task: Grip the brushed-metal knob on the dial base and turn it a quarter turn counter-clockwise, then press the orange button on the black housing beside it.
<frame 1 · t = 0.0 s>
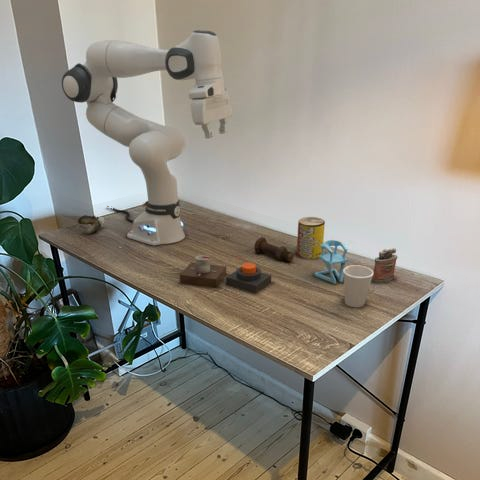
hand: (215, 135, 162), 39 cm above the table, tool pointing down, fingers open, 8 cm apart
dixie cup: (354, 303, 144), on the table
bolt: (274, 257, 173), on the table
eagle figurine: (93, 231, 198), on the table
button: (248, 268, 152), point 5 cm above the table, slide at 0.2 cm
beverage can: (309, 254, 175), on the table
knob: (202, 263, 155), point 5 cm above the table, hinge at 0.0°
chair: (331, 278, 158), on the table
dial base: (203, 279, 158), on the table
button box: (248, 283, 155), on the table
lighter: (382, 280, 157), on the table
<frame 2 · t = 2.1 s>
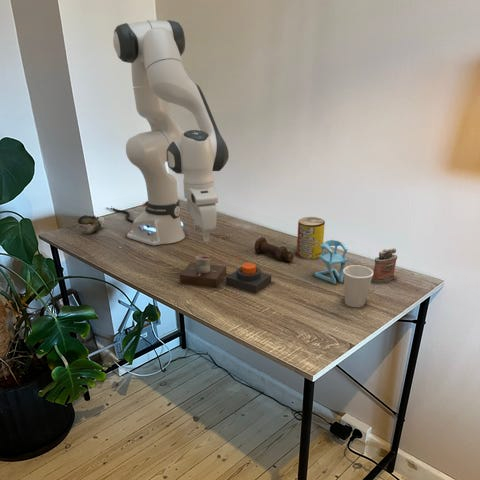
hand: (201, 236, 151), 14 cm above the table, tool pointing down, fingers open, 8 cm apart
nothing on the table moved.
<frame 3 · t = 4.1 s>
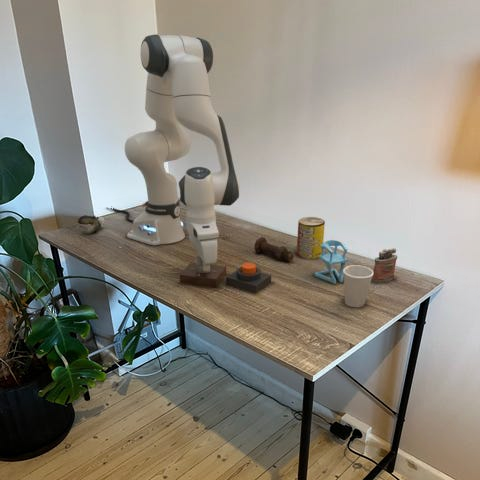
hand: (203, 266, 156), 4 cm above the table, tool pointing down, fingers closed on knob, 4 cm apart
knob: (202, 263, 155), point 5 cm above the table, hinge at -0.1°, touching gripper
everything else where it was.
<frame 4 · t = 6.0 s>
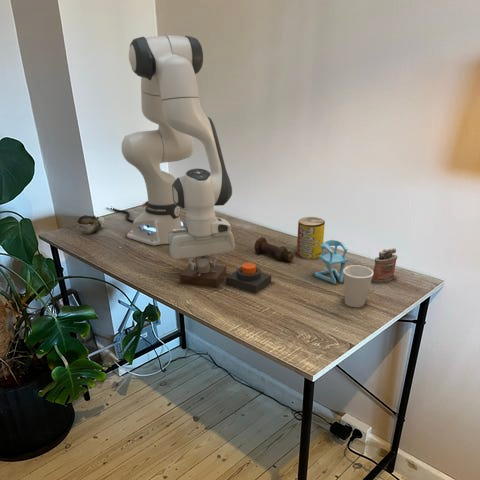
hand: (203, 267, 156), 4 cm above the table, tool pointing down, fingers open, 4 cm apart
knob: (202, 263, 155), point 5 cm above the table, hinge at 89.7°
everything else where it was.
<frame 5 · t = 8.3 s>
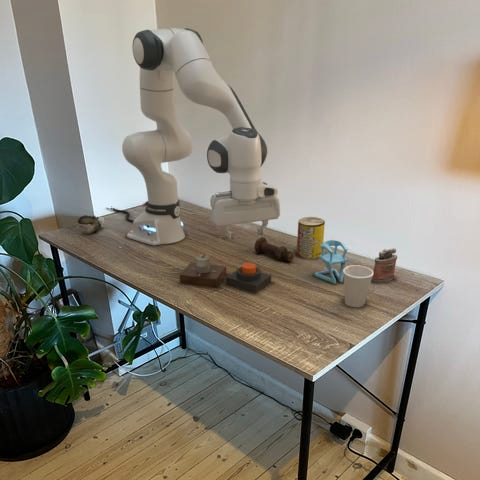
hand: (246, 236, 147), 16 cm above the table, tool pointing down, fingers open, 8 cm apart
nothing on the table moved.
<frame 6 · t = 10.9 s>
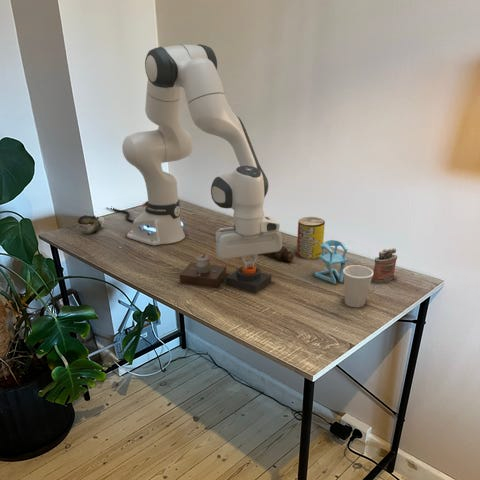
hand: (248, 267, 152), 6 cm above the table, tool pointing down, fingers closed, pressing on button
button: (248, 270, 152), point 4 cm above the table, slide at -0.6 cm, touching gripper
everything else where it was.
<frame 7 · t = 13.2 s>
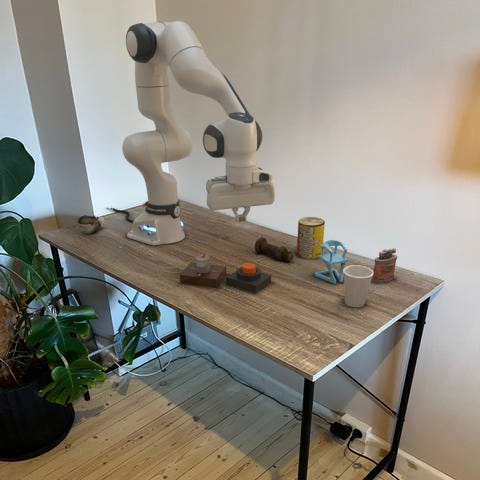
hand: (240, 221, 149), 19 cm above the table, tool pointing down, fingers closed
button: (248, 268, 152), point 5 cm above the table, slide at 0.1 cm
everything else where it was.
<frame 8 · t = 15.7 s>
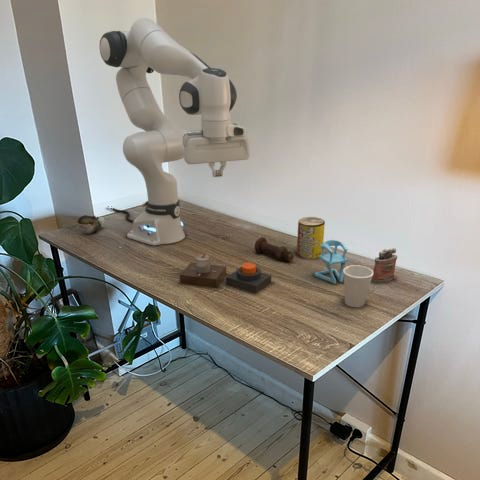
hand: (217, 176, 155), 29 cm above the table, tool pointing down, fingers closed
nothing on the table moved.
at the end: knob at +90° (first picture: +0°); button pushed in 1.0 cm at the most during the clip, back to where it started at the end; button slide at 0.1 cm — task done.
